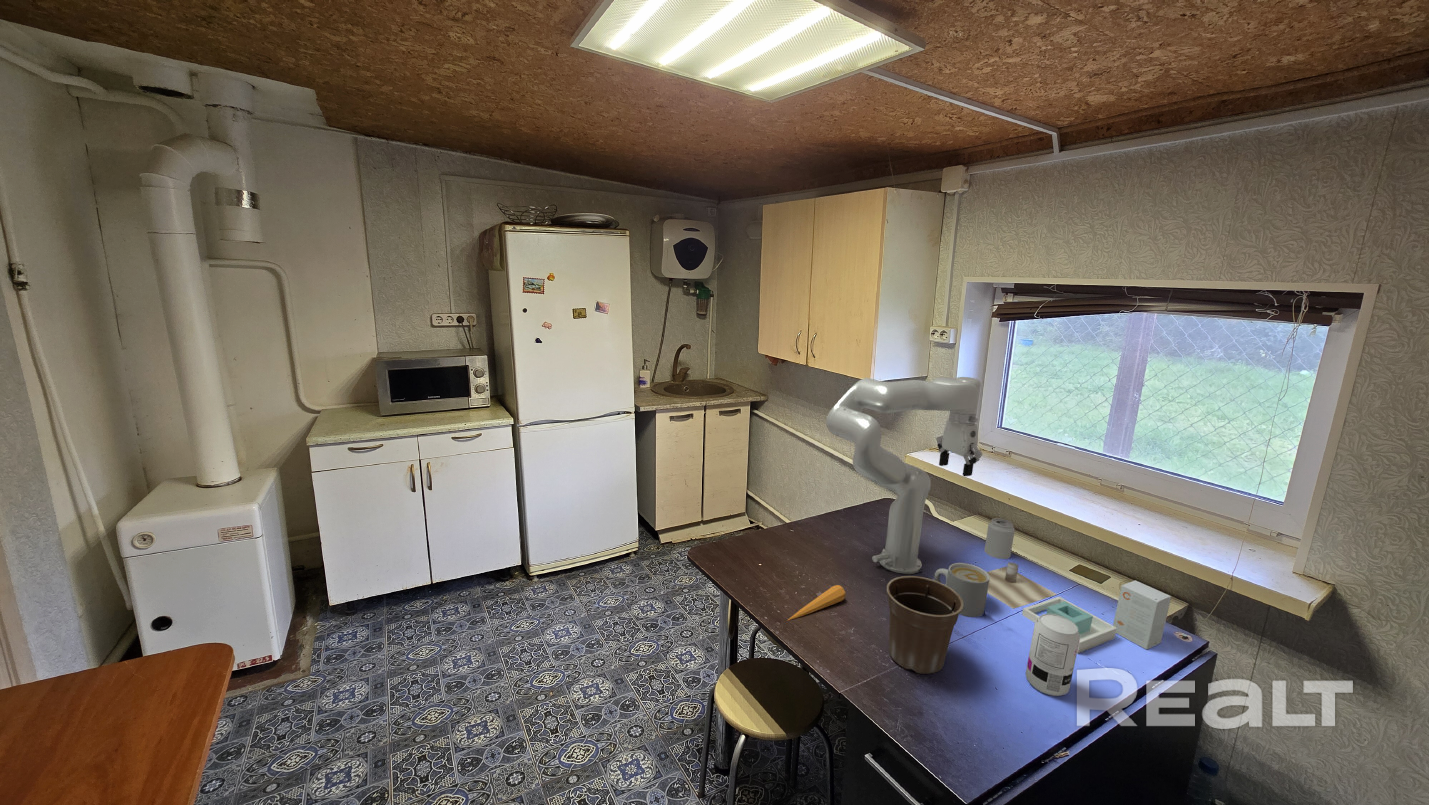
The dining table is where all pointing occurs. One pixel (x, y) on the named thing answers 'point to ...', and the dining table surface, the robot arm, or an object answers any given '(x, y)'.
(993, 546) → the can
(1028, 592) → the stake base
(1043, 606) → the tray
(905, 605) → the plant pot
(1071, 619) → the collar
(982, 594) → the coffee mug
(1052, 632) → the supplement can
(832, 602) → the carrot
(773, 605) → the dining table surface
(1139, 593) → the small box
